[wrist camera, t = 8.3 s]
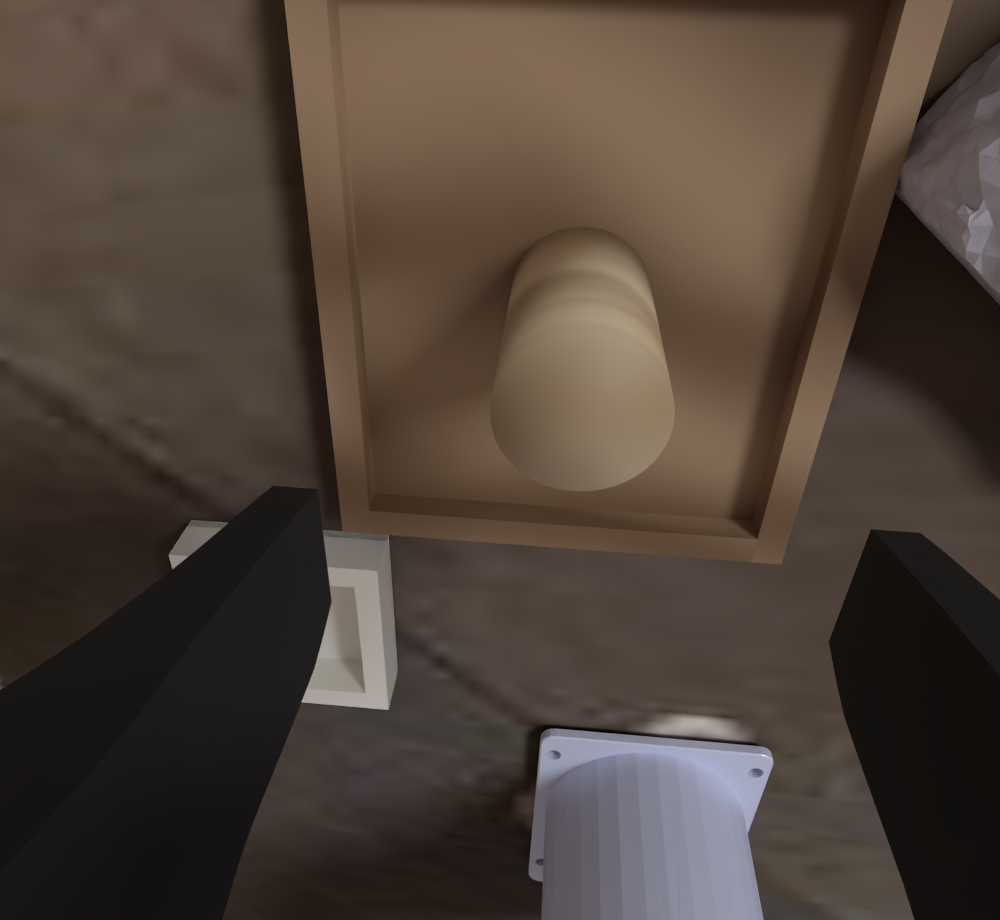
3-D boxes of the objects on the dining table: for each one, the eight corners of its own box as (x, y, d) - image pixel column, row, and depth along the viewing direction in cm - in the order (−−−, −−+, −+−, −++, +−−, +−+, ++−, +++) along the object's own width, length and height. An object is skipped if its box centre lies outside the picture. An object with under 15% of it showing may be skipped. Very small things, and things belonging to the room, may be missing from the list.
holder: (397, 670, 27) (388, 709, 25) (224, 656, 27) (206, 694, 26) (388, 534, 23) (377, 571, 22) (191, 519, 24) (168, 554, 22)
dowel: (638, 363, 19) (657, 499, 15) (506, 351, 19) (486, 482, 15) (661, 232, 17) (691, 342, 13) (516, 220, 17) (495, 324, 13)
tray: (772, 536, 22) (781, 564, 21) (352, 505, 23) (342, 531, 22) (943, -59, 14) (970, -57, 13) (295, -80, 15) (275, -81, 14)
